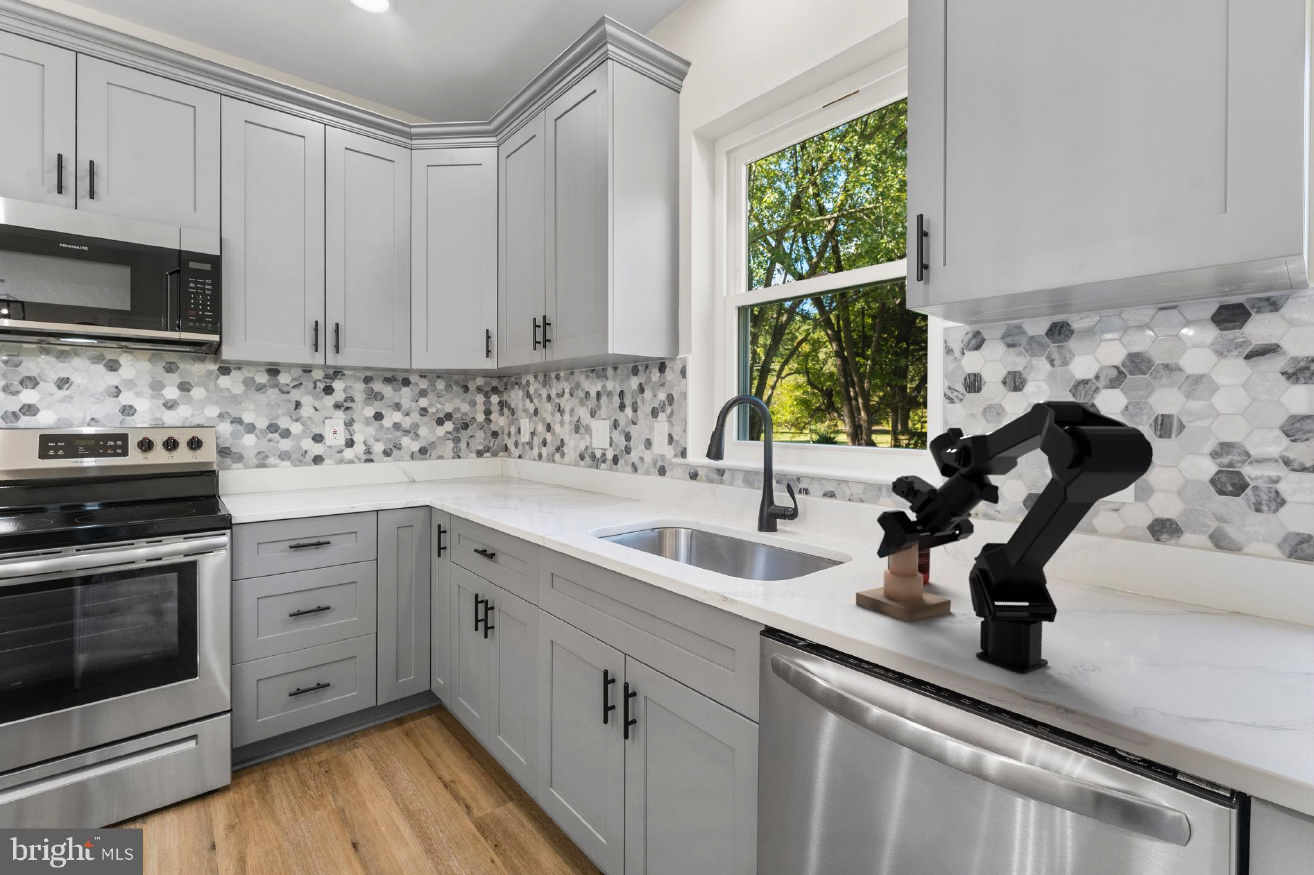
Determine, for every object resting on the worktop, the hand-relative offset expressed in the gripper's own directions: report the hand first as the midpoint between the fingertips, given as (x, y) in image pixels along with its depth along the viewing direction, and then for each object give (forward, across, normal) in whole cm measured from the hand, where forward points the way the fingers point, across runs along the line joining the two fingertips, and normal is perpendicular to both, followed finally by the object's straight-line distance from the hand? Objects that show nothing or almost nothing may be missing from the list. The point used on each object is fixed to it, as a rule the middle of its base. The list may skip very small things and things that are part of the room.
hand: (896, 553), depth 107 cm
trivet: (+6, 0, +8) cm, 9 cm away
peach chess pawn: (+4, 0, +6) cm, 8 cm away
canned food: (+14, -16, 0) cm, 21 cm away
